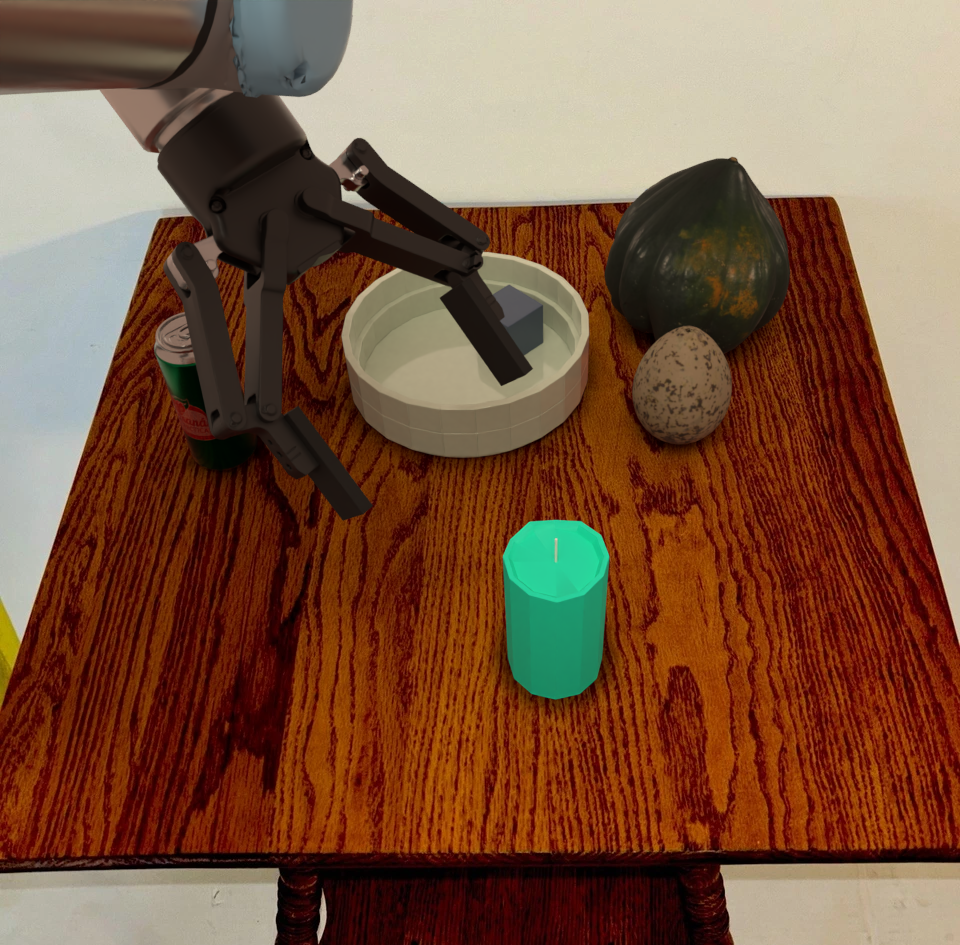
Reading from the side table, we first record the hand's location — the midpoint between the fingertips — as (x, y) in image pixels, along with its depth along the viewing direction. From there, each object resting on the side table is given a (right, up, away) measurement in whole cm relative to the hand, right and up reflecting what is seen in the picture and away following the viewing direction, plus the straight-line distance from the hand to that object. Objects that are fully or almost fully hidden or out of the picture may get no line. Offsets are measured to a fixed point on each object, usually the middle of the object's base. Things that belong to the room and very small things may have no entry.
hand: (442, 442), depth 59 cm
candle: (+7, -14, +7) cm, 17 cm away
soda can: (-17, 0, +21) cm, 28 cm away
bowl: (+1, +6, +26) cm, 27 cm away
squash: (+20, +11, +29) cm, 37 cm away
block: (+5, +9, +28) cm, 29 cm away
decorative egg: (+17, +1, +21) cm, 27 cm away
